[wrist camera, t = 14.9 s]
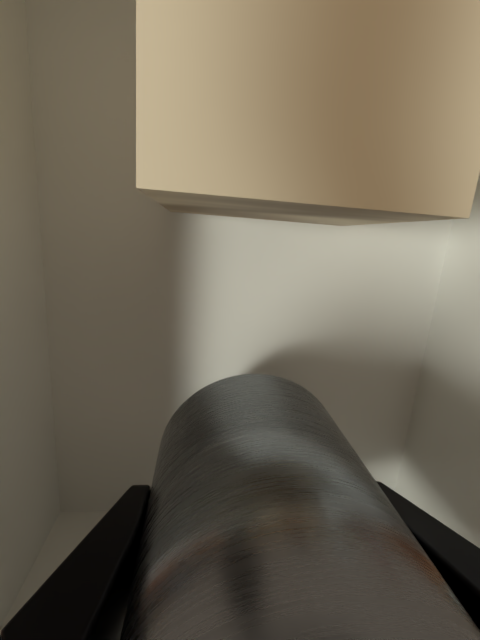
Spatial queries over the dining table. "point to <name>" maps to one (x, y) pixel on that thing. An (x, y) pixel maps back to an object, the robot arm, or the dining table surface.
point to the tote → (195, 308)
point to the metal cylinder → (277, 531)
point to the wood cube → (309, 108)
